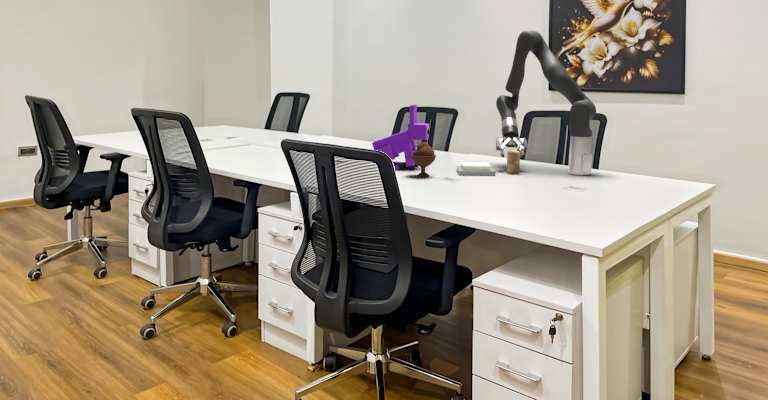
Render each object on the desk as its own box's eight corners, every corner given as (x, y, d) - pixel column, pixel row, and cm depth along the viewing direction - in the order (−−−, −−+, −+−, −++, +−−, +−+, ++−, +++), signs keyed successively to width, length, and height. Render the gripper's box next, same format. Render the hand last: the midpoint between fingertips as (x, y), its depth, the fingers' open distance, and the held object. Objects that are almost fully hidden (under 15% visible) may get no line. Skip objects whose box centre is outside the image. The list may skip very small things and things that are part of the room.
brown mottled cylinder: (517, 172, 295) (518, 150, 293) (519, 174, 290) (520, 152, 288) (506, 172, 295) (507, 150, 293) (508, 173, 290) (509, 152, 288)
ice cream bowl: (405, 175, 283) (406, 142, 280) (423, 173, 290) (423, 140, 287) (422, 178, 275) (423, 144, 272) (440, 176, 282) (441, 142, 279)
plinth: (490, 170, 300) (490, 161, 299) (495, 175, 284) (495, 166, 284) (456, 169, 300) (456, 161, 300) (459, 175, 285) (459, 166, 284)
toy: (426, 171, 297) (427, 106, 291) (368, 168, 303) (368, 105, 297) (430, 166, 310) (431, 104, 304) (374, 164, 316) (375, 103, 310)
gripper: (495, 124, 299) (498, 151, 290) (526, 124, 299) (529, 151, 290) (493, 134, 305) (496, 161, 296) (523, 134, 305) (526, 161, 296)
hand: (512, 156), depth 293 cm, fingers open, 8 cm apart
